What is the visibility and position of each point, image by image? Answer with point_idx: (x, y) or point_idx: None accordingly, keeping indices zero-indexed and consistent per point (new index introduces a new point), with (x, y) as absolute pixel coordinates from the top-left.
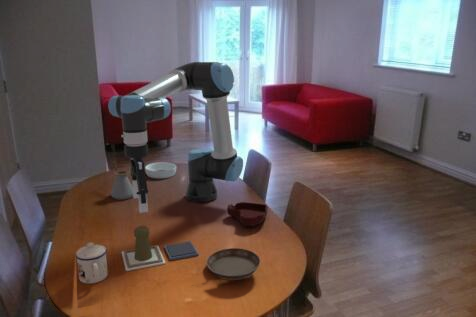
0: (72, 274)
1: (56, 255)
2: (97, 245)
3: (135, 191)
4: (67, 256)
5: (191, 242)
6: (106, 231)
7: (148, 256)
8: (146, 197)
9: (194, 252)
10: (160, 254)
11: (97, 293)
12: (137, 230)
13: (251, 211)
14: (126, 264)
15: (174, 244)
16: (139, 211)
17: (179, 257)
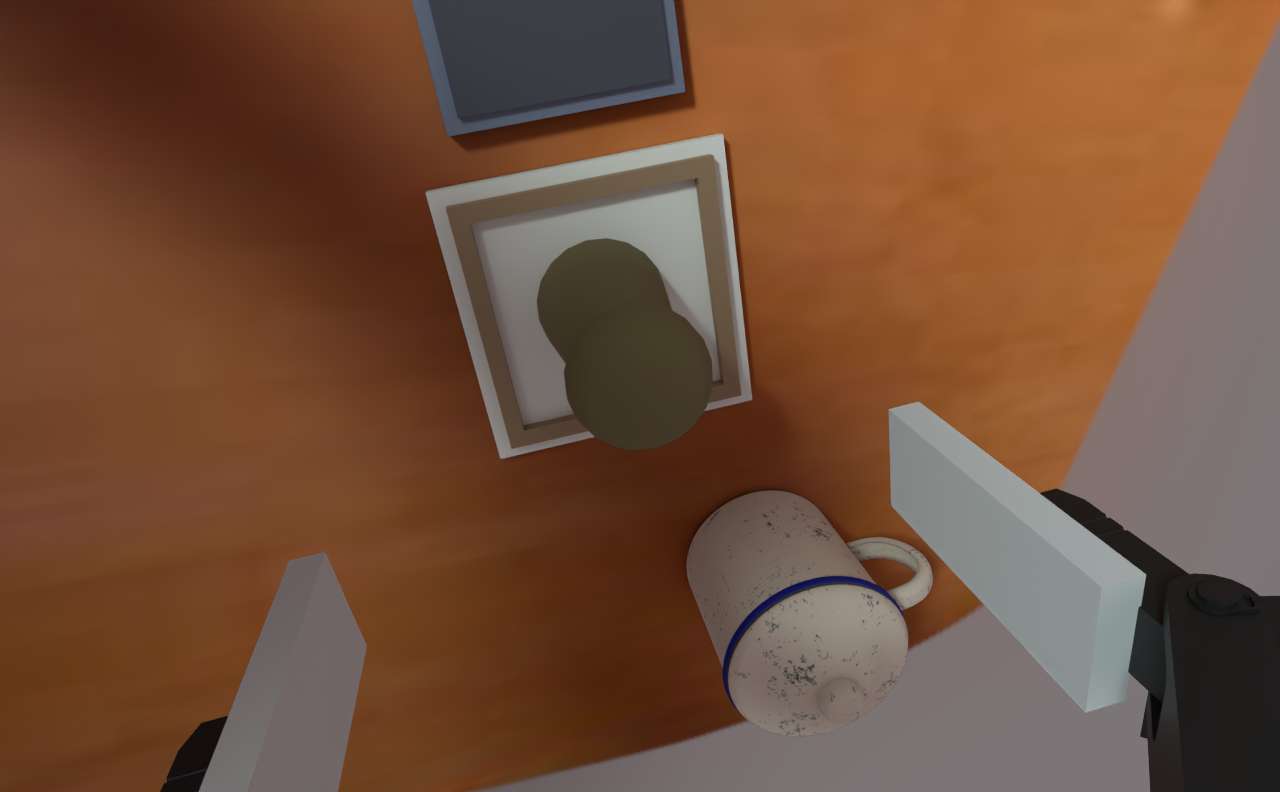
0: (705, 651)
1: (474, 780)
2: (810, 654)
3: (336, 708)
4: (495, 729)
5: None
6: (103, 614)
7: (654, 268)
8: (1072, 529)
9: None
10: (591, 172)
11: None
12: (687, 424)
13: None
14: None
15: (451, 36)
16: (900, 509)
17: (672, 7)
